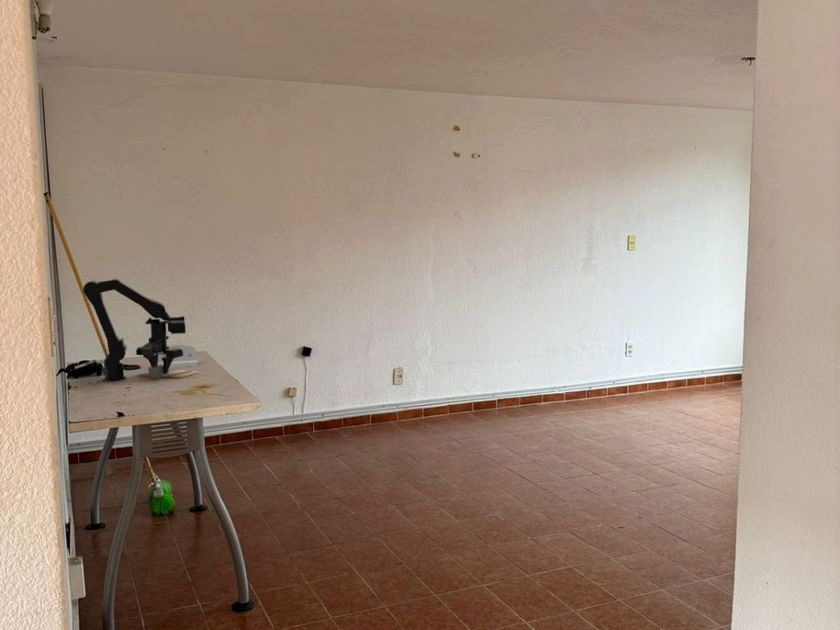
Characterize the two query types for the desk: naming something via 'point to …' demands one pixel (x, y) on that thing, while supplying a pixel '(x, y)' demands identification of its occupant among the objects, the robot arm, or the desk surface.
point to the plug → (156, 371)
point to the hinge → (182, 357)
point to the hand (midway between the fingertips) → (160, 373)
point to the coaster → (180, 373)
